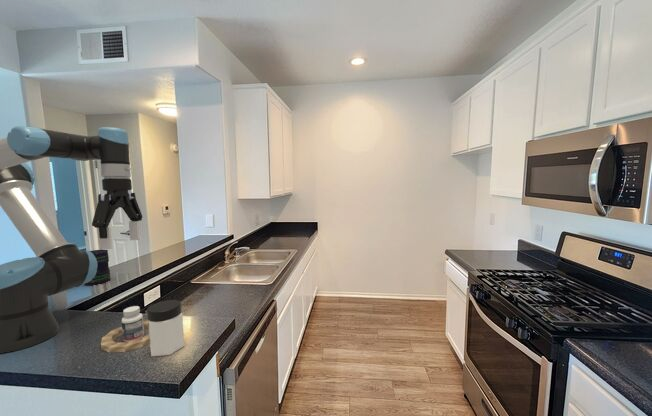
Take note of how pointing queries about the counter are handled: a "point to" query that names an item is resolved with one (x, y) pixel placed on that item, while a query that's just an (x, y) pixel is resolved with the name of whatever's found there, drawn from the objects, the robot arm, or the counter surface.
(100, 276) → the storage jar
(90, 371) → the counter surface
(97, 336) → the counter surface
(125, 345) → the bead ring
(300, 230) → the counter surface
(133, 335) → the pill bottle
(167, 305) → the jar
